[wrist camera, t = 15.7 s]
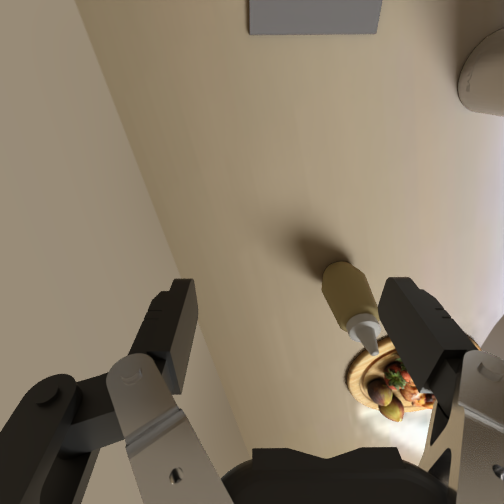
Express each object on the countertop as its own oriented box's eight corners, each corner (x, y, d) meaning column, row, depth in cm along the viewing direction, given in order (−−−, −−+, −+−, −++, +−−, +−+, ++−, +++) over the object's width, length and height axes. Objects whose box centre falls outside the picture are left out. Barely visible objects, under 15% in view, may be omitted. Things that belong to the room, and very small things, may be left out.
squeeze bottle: (320, 293, 55) (348, 375, 40) (313, 262, 51) (340, 340, 36) (361, 284, 54) (405, 365, 39) (357, 250, 50) (405, 327, 34)
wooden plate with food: (506, 357, 67) (536, 389, 60) (404, 416, 81) (418, 448, 74) (417, 303, 58) (440, 333, 51) (320, 380, 72) (327, 413, 65)
